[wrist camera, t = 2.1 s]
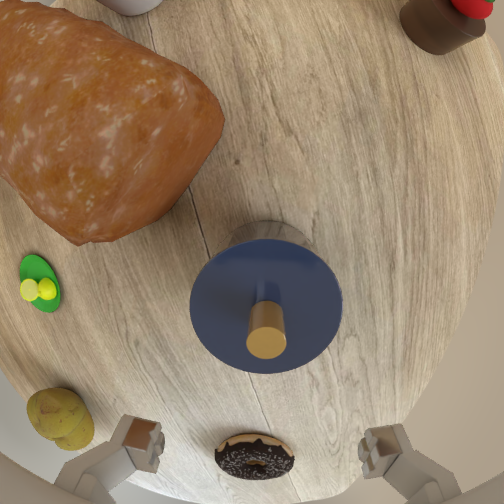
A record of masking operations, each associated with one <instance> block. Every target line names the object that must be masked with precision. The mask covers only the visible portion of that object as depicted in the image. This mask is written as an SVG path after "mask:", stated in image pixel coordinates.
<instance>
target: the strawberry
mask: <svg viewBox="0 0 504 504" xmlns="http://www.w3.org/2000/svg"><path fill="white" fill-rule="evenodd" d="M494 1H495V0H451V2H452V4H453V5H454V6H455V7H456V9H457V10H459V11H460V12H461V13H462V14H464V15H466V16H468V17H470V18H473V19H484V18H486V17H488V16H489V15H490V14H491V12H492V10H493V2H494Z"/></svg>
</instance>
